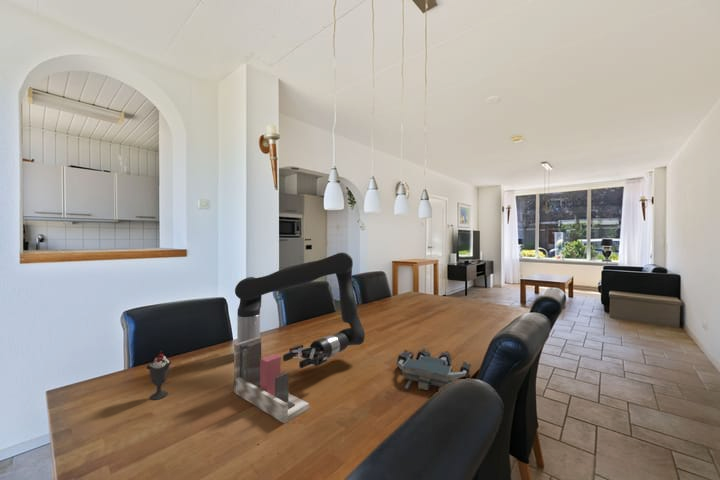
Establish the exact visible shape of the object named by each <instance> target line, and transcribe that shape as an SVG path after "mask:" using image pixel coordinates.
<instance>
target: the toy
mask: <svg viewBox="0 0 720 480" xmlns="http://www.w3.org/2000/svg"><path fill="white" fill-rule="evenodd" d="M397 357H398V358H397V361H396V365H397V367H398V369H400V370H401V373H402V374H403V380H405V381H406V380H408V382H407V383H406V384H405V387H404V389H406V390H407V389H409V387H410V386H411V384H412V382H417V387H418V389H419V390H424V391H429V389H430V387H431V386H434V387H438V390H439V389H441V388H442V387H444V386H445V385H446V384H448V383H450V382H452V383H453V380H456V379H459V378H463V377H465V378H468V377H469V374H470V371H471V369H472V364H471V363H468V362H466V361H462V364H461V366H460V369H459V371H457V372H453V366H452V365H451V363H452V357H451V353H450V351H449V350H445V351H444V352H443V351H442V352H441V353H440V354H439V356H438V357H434V356H432V354H431V353H430V351H429V350H426V349H425V348H421V349H420V350H419V351H417V354H416V358H414V352H413V351H408V350H406V349H404V350H403V351H402V352H401V353H399V354H398V356H397ZM450 365H451V366H450Z"/></svg>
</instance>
